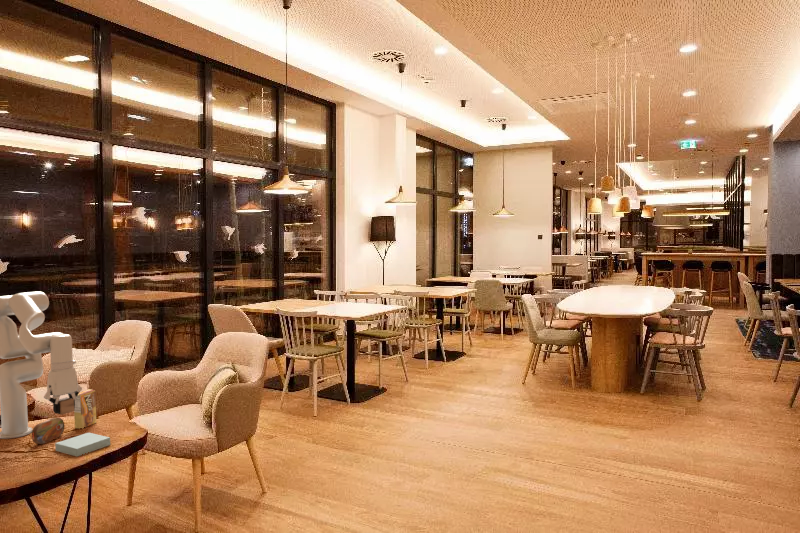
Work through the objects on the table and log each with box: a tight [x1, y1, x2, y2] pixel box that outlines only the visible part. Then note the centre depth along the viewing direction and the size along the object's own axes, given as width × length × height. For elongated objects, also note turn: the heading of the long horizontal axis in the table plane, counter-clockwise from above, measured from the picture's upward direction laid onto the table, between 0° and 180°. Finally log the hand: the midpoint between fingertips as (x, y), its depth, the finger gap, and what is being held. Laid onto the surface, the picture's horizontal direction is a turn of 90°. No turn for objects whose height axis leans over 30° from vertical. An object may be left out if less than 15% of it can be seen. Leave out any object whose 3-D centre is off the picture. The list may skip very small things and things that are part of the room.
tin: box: [31, 417, 65, 445], centre depth 242 cm, size 15×3×8 cm, turn 168°
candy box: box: [73, 388, 97, 429], centre depth 261 cm, size 9×4×15 cm, turn 167°
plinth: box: [54, 432, 111, 457], centre depth 233 cm, size 14×14×3 cm
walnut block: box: [55, 397, 74, 415], centre depth 230 cm, size 5×5×5 cm
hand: (64, 410), depth 230 cm, fingers closed on walnut block, 4 cm apart
